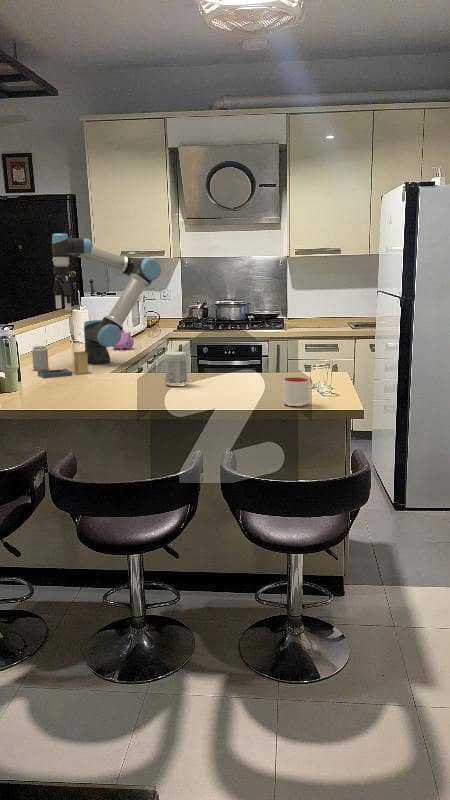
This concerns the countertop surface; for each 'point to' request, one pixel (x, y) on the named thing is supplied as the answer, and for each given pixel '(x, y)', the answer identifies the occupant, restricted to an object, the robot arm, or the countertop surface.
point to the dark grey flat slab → (54, 373)
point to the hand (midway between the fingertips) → (63, 309)
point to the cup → (295, 390)
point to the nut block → (81, 362)
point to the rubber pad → (81, 373)
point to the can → (40, 358)
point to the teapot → (125, 341)
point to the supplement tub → (175, 367)
